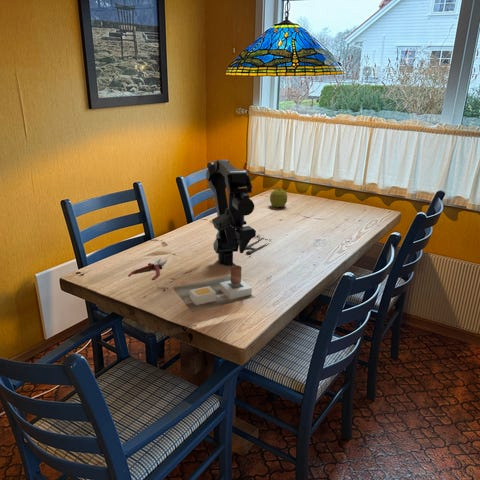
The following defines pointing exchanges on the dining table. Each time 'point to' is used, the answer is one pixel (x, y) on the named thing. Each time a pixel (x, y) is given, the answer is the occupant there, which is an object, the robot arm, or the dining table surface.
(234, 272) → the brown wooden peg
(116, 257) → the dining table surface
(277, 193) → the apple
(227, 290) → the pilot socket
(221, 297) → the board
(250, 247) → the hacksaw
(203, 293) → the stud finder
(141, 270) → the pliers
